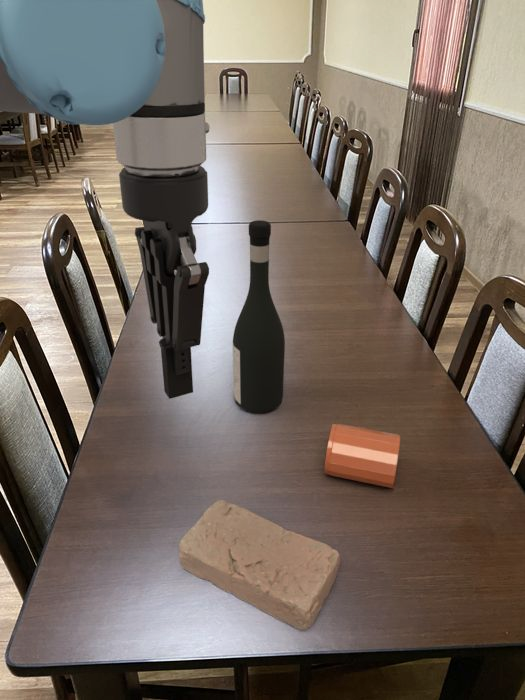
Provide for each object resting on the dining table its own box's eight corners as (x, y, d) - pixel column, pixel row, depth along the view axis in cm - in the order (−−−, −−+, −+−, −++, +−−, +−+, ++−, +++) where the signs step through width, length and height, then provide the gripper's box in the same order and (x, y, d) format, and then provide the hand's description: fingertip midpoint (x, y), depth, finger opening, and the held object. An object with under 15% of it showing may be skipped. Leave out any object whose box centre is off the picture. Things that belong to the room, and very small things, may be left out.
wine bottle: (226, 410, 86) (221, 228, 71) (243, 383, 93) (242, 211, 77) (274, 420, 84) (279, 235, 69) (288, 392, 90) (296, 217, 75)
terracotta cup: (322, 473, 69) (393, 487, 67) (332, 419, 71) (401, 432, 69) (326, 475, 76) (391, 488, 74) (335, 426, 77) (398, 438, 75)
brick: (176, 568, 61) (173, 541, 58) (217, 518, 67) (216, 491, 65) (307, 640, 54) (310, 612, 52) (340, 577, 60) (343, 549, 58)
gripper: (236, 178, 43) (237, 415, 55) (176, 149, 52) (188, 356, 64) (145, 187, 40) (167, 437, 52) (99, 155, 49) (126, 371, 61)
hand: (178, 391), depth 58 cm, fingers closed
